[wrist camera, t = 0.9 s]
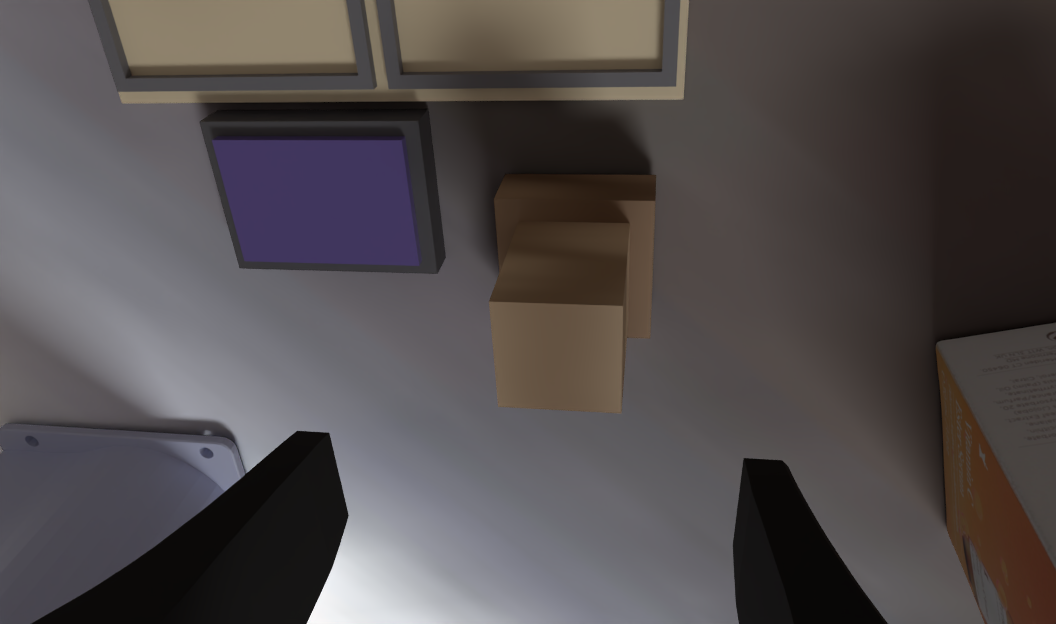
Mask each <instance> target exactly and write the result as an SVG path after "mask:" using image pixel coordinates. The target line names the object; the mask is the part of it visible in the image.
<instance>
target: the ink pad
mask: <svg viewBox="0 0 1056 624" xmlns="http://www.w3.org/2000/svg"><path fill="white" fill-rule="evenodd" d="M200 126H201V129H202V133H203V136H204V140H205V144H206V147H207V151H208V155H209V158H210V162H211V166H212V169H213V173H214V177H215V180H216V184H217V187H218V191H219V195H220V198H221V202H222V206H223V209H224V213H225V217H226V220H227V224H228V228H229V231H230V235H231V239H232V242H233V246H234V249H235V253H236V257H237V260H238V264H239V268H248V269H284V270H320V271H356V272H392V273H428V274H438V272H439V270H440V268H441V266H442V264H443V262H444V260H445V258H446V256H445V247H444V239H443V230H442V222H441V213H440V205H439V196H438V188H437V179H436V171H435V162H434V153H433V145H432V136H431V128H430V119H429V111H428V109H381V110H217V111H216V112H214V113H213V114H211V115H209V116H208V117H206V118H205V119H203V120H201V121H200Z"/></svg>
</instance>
